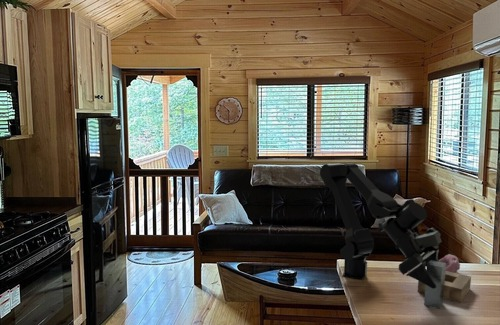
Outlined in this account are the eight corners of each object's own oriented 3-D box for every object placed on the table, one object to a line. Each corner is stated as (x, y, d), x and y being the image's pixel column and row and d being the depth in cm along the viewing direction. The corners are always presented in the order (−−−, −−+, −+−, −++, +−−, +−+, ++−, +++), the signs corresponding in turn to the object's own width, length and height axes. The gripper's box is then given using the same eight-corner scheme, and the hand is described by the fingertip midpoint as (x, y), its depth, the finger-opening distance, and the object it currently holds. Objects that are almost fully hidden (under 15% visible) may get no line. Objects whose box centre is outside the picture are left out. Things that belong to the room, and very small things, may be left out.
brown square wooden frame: (417, 291, 132) (418, 278, 132) (429, 279, 142) (430, 267, 141) (460, 302, 125) (461, 289, 124) (470, 289, 134) (471, 276, 134)
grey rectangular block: (424, 305, 123) (426, 263, 122) (428, 300, 126) (431, 260, 125) (439, 309, 121) (442, 267, 119) (443, 304, 124) (446, 263, 122)
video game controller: (453, 282, 143) (464, 264, 142) (440, 275, 144) (451, 257, 142) (445, 271, 153) (456, 254, 151) (433, 264, 153) (444, 248, 152)
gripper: (412, 227, 116) (455, 278, 110) (433, 214, 130) (471, 258, 125) (382, 250, 121) (420, 299, 116) (405, 235, 136) (440, 278, 131)
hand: (439, 282), depth 122 cm, fingers open, 9 cm apart
